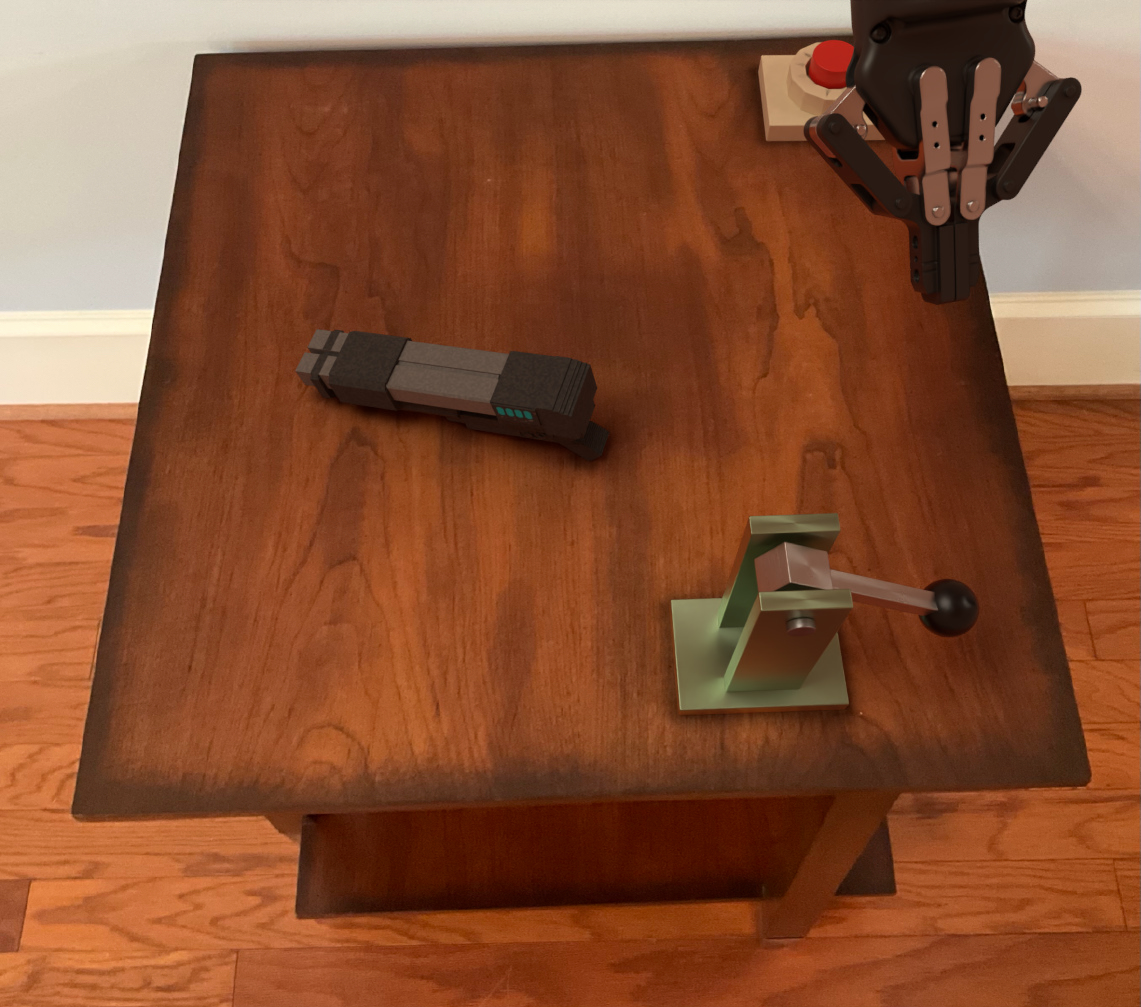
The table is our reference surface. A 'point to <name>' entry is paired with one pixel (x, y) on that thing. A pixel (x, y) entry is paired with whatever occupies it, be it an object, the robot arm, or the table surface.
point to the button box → (795, 96)
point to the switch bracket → (763, 633)
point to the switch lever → (869, 588)
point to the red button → (830, 64)
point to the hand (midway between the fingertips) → (945, 300)
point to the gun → (460, 385)
